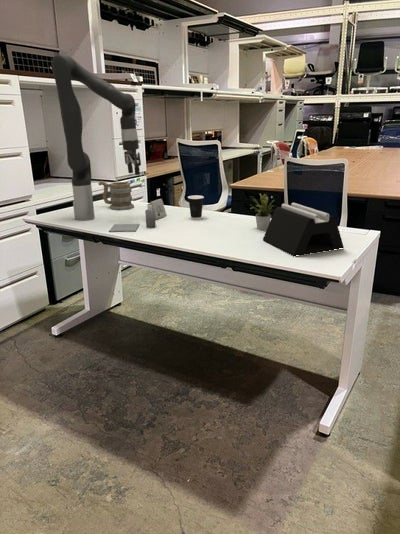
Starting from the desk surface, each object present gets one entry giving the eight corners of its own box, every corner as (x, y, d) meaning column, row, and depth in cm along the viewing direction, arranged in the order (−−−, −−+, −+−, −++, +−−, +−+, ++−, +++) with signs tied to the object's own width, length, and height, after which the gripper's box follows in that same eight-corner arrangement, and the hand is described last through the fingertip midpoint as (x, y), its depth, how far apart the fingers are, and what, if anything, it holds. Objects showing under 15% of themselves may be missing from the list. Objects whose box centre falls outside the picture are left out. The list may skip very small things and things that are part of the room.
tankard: (137, 206, 241) (135, 180, 235) (126, 211, 230) (123, 183, 224) (107, 204, 247) (105, 178, 242) (95, 208, 236) (92, 182, 231)
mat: (109, 232, 188) (109, 230, 188) (114, 225, 200) (114, 224, 199) (135, 231, 188) (135, 230, 188) (139, 225, 199) (139, 223, 199)
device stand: (293, 257, 152) (296, 217, 147) (262, 241, 172) (264, 205, 167) (343, 249, 160) (347, 211, 155) (308, 235, 180) (311, 200, 174)
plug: (144, 227, 195) (143, 205, 191) (150, 225, 198) (148, 203, 195) (151, 228, 193) (150, 206, 189) (157, 226, 196) (156, 204, 193)
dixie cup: (203, 216, 214) (203, 195, 211) (204, 220, 207) (204, 198, 203) (187, 217, 214) (187, 195, 210) (188, 220, 206) (188, 198, 203)
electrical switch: (156, 220, 208) (154, 201, 206) (148, 220, 211) (146, 201, 208) (167, 216, 216) (164, 198, 213) (158, 216, 219) (156, 198, 216)
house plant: (241, 225, 196) (242, 190, 191) (269, 223, 199) (270, 189, 193) (251, 232, 183) (252, 196, 178) (280, 230, 186) (282, 194, 180)
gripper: (117, 139, 200) (121, 173, 206) (128, 140, 189) (132, 176, 194) (131, 138, 204) (135, 171, 209) (143, 138, 192) (147, 174, 198)
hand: (134, 173), depth 202 cm, fingers open, 8 cm apart
